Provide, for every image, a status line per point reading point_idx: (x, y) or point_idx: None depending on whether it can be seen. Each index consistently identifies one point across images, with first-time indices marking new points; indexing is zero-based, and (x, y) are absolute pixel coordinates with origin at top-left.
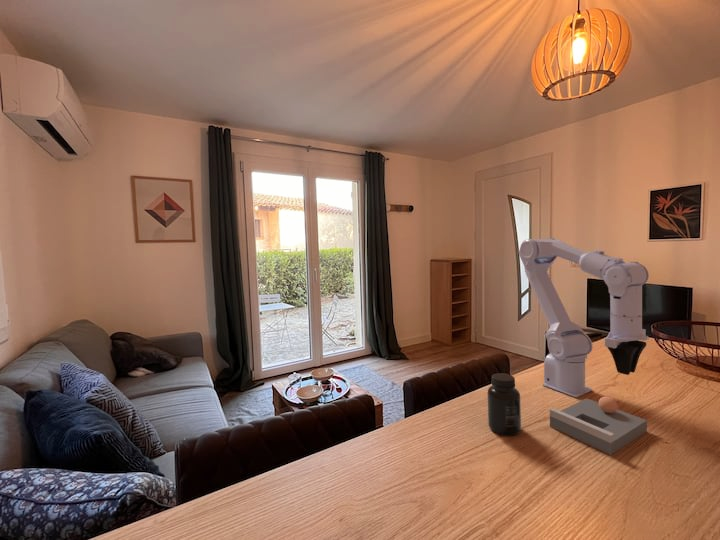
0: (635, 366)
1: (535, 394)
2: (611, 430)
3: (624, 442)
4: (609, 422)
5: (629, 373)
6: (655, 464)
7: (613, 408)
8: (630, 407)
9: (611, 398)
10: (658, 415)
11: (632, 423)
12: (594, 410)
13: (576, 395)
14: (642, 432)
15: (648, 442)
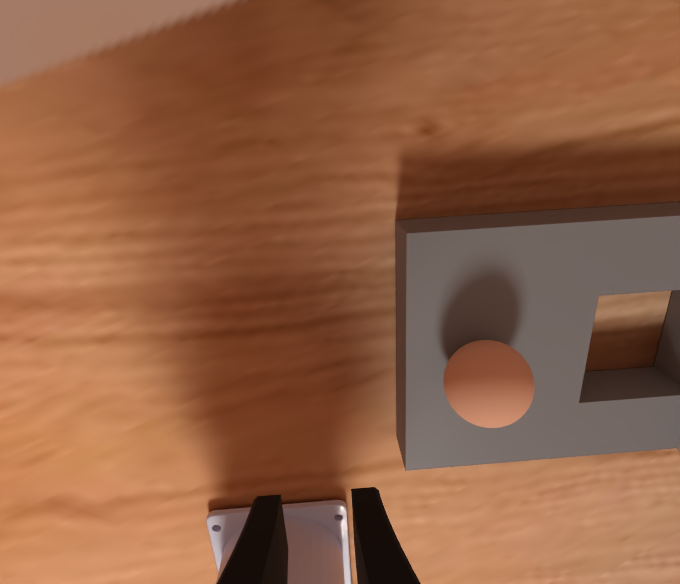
0: (263, 539)
1: (448, 569)
2: (649, 265)
3: (619, 209)
4: (577, 306)
5: (352, 494)
6: (664, 69)
7: (513, 350)
8: (218, 361)
9: (499, 395)
10: (180, 265)
11: (501, 252)
12: None
13: (337, 507)
14: (439, 219)
15: (492, 170)
